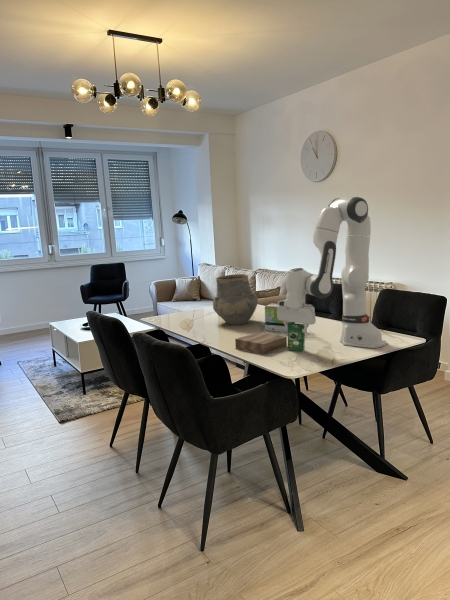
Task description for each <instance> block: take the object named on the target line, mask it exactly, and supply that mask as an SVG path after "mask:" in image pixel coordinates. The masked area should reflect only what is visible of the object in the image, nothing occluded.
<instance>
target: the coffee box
mask: <svg viewBox="0 0 450 600" xmlns="http://www.w3.org/2000/svg"><path fill="white" fill-rule="evenodd" d="M304 327H305V326H304V324H302V323H288V333H287V351H294V352H296V351H297V352H304V351H305V348H306V347H305V346H306V345H305V342H306V341H305V340H306V339H305V337H306V336H305V335H306V333H302V329H304Z"/></svg>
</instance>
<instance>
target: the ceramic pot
mask: <svg viewBox="0 0 450 600" xmlns="http://www.w3.org/2000/svg"><path fill="white" fill-rule="evenodd" d="M215 280H216V296H214V299H213V301H212V309H213V311H215V313H216V314H217V316H219V317H220V318H221V319H222V320H224V322H225V323H227V324H229V325H235V326H236V325H244V324H247V323H248V322H249V321H250V320H251V318H252V316H253V315H254V313H255V312H256V309H257V307H258V302H259V300H258V296H257V294H256V293H255V292H253V291H252V288H251V285H250V282H249V275H248V274H244V273H242V274H241V273H237V274H227V275H226V274H225V275H222V276H218V277H216V278H215Z"/></svg>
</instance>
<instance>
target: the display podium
mask: <svg viewBox="0 0 450 600" xmlns="http://www.w3.org/2000/svg"><path fill="white" fill-rule="evenodd" d="M234 339H235V340H234V341H235V344H234V345H235V350H241V351H245V352H249V353H256V354H260V355H266V354H269V353H272V352H274V351H277V350H280V349H283V348H286V347H287V348H288V336H285V335H279V334H273V333H268V332H260V331H258V332H254V333H251V334H247V335H244V336H243V335H242V337H237V338H234Z"/></svg>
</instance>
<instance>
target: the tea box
mask: <svg viewBox="0 0 450 600" xmlns="http://www.w3.org/2000/svg"><path fill="white" fill-rule="evenodd" d="M277 308H278V303H273V302H271V303H269V304H267V305H264V325H265V326H264V329H265V332H266V331H269V332H270V331H271V332H280V333H281V332H282V333H287V334H288V330H286V327H285V325H284V321H281V320H278V318H277ZM288 323H295V322H288Z"/></svg>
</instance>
